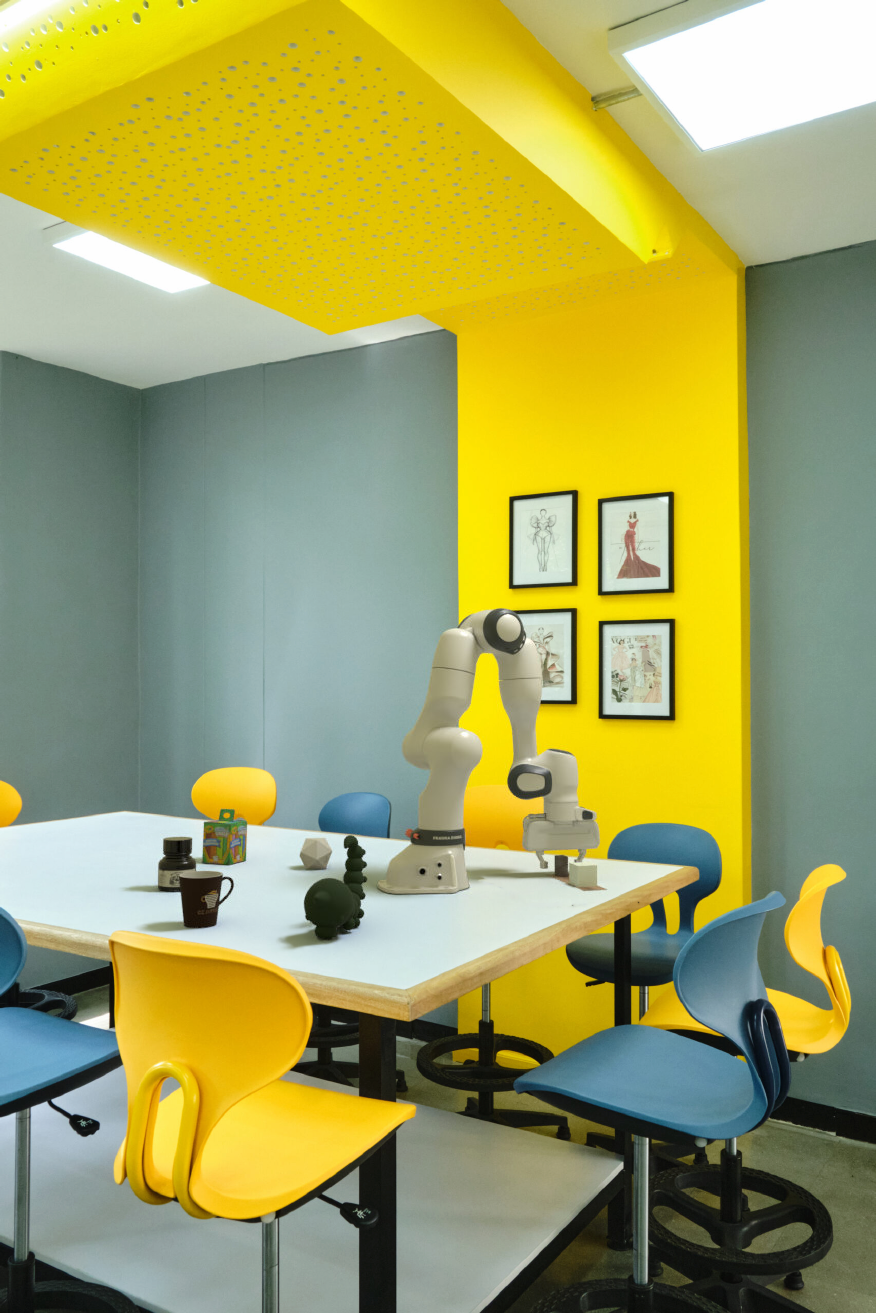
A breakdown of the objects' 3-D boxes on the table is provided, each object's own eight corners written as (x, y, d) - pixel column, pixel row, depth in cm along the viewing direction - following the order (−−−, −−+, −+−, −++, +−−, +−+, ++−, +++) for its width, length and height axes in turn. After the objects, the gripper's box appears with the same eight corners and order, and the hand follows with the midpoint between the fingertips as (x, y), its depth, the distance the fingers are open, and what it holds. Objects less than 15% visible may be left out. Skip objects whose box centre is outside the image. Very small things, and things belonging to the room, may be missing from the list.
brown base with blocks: (584, 895, 227) (584, 869, 227) (547, 879, 248) (547, 855, 248) (607, 893, 229) (607, 867, 229) (568, 877, 250) (568, 854, 250)
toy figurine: (333, 925, 202) (288, 942, 178) (337, 833, 205) (293, 837, 181) (377, 928, 200) (337, 945, 176) (380, 834, 203) (341, 839, 179)
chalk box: (201, 863, 271) (202, 810, 272) (219, 858, 280) (220, 807, 281) (230, 865, 268) (230, 811, 269) (247, 860, 277) (248, 808, 278)
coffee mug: (181, 931, 190) (182, 879, 190) (175, 922, 197) (175, 872, 198) (241, 925, 194) (242, 875, 195) (232, 917, 202) (233, 868, 203)
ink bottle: (154, 892, 228) (155, 841, 229) (157, 886, 237) (158, 836, 238) (197, 891, 230) (197, 840, 231) (198, 884, 239) (199, 835, 240)
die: (321, 874, 258) (340, 842, 263) (292, 857, 259) (312, 825, 263) (319, 880, 266) (337, 849, 270) (291, 864, 266) (310, 833, 271)
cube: (577, 887, 231) (577, 865, 232) (569, 883, 236) (569, 862, 236) (597, 886, 233) (597, 865, 233) (588, 882, 238) (588, 861, 238)
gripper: (527, 815, 242) (527, 871, 241) (602, 812, 248) (602, 867, 247) (518, 812, 248) (518, 867, 247) (591, 810, 254) (591, 863, 253)
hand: (561, 867), depth 247 cm, fingers open, 8 cm apart
